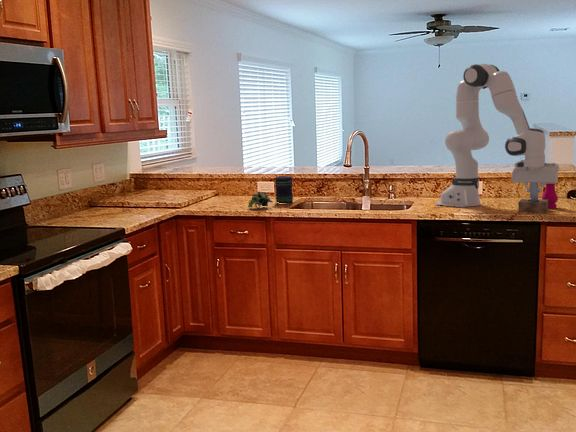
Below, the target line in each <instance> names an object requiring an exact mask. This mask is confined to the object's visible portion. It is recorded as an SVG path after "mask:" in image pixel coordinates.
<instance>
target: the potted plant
mask: <svg viewBox="0 0 576 432" xmlns="http://www.w3.org/2000/svg"><path fill="white" fill-rule="evenodd" d="M268 203H271V204H272V203H273V200H271V199H270V197H269V195H268V194H267V193H266V192H264V191H258V192H257V193H255V194H254V193H251V199H250V200H249V201H248V205H247V208H250V207H251V208H252V207H253V206H255V207H258V209H260V208H261V206H265V207H268V206H269V205H268ZM257 205H258V206H257Z"/></svg>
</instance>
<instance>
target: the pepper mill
mask: <svg viewBox="0 0 576 432" xmlns="http://www.w3.org/2000/svg"><path fill="white" fill-rule="evenodd" d="M555 185H556V183H545V190H544V192H543V194H542V196H541V200H548V210H550V209H557V204H556V203H557V202H558V200H559V196H558V194H557V191H556V189H555Z"/></svg>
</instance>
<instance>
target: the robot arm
mask: <svg viewBox="0 0 576 432" xmlns="http://www.w3.org/2000/svg"><path fill="white" fill-rule="evenodd" d="M462 78H463V80H461V81H460V82H458V84H457V88H456V96H455V118H456V119H457V120H458V121H459V122H460V123H461V125H462V128H463V129H456V130H453V131H450V132H448V133H447V135H446V136H445V141H444V144H445V147H446V148H447V149H448V150H449V152H450V153H451V154H452V155H453V159H454V162H455V163H454V164H455V177H453V178H452V179H451V185H450V186H449V187H447V188H446V189H445V190H443V191H442V192H441V194H440V200H437V201H436V203H435V205H436V206H440V205H443V207H454V206H455V207H456V208H468V207H475V206H477V207H478V206H481V205H482V203H481V199H480V194H479V187H480V178H479V163H478V161H477V159H475V158H474V157H473V154H472V151H477V150H478V151H479V150H481V149H484V148H485V147H487V145H488V144H489V141H490V137H489V134H488V132H487V131H486V130H485V129H484V127H483V125H482V122H481V120H480V109H479V108H480V107H479V106H480V105H479V99H480V98H479V95H480V94H479V93H480V91H481V90H482V89H483V90H485V89H489V92H490V95H491V99H492V103H493V105H494V108H495V109H496V110H497V111H498V112H500V113H502V114H503V115H506V116H507V117H508V118H509V119H510V120H511V122H512V123H513V126H514V129H515V132H516V135H513V136H511V137H509V138H507V139H506V141H505V144H504V149H505V151H506V153H507V154H508V155H509V156H512V157H520V156H524V159H522V160H519V161H516V162H515V163H514V168H513V169H512V174H511V182H512V183H514V184H515V183H516V184H518V183H521V184H522V183H523V184H524V187H525V188H526V193H530V187H529V186H528V185H529V184H530V183H532V182H534V183H538V184H540V186H541V187H538V193H540V194H541V193H543V188H544V186H545V184H546V183H555V184H557V183H558V181H559V177H558V172H559V171H560V167H559V165H558V164H557V163H555V162H554V163H552V162H546V154H545V149H546V134H545V131H544V130H543V129H541V128H533V127H531V128H530V125H529V123H528V120H527V117H526V114H525V112H524V110H523V108H522V106H521V103H520V101H519V98H518V95H517V92H516V88H515V85H514V83H513V80H512V77H511V75H510V74H509V72H508V71H505V70H500V69H499V68H498V66H495V65H494V64H488V63H481V64H479V63H478V64H475V63H474V64H471V65H469V66H467V67H466V68H465V70H464V71H463V76H462Z"/></svg>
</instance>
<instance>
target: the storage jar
mask: <svg viewBox="0 0 576 432" xmlns="http://www.w3.org/2000/svg"><path fill="white" fill-rule="evenodd" d="M274 178H275V179H274V182H275V183H274V185H275V186H274V187H275V202H279V203H292V204H293V203H294V202H293V200H294V197H293V195H294V194H293V177H292V176H286V175H285V176H283V175H282V176H275V177H274Z"/></svg>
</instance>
